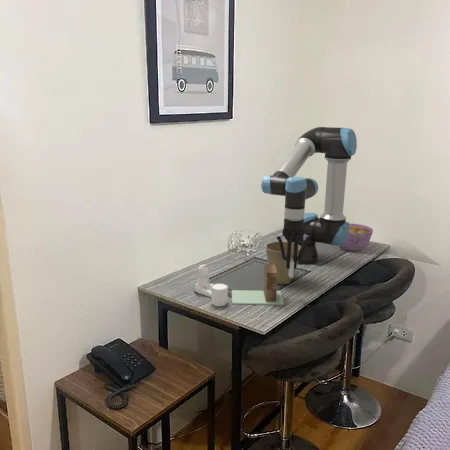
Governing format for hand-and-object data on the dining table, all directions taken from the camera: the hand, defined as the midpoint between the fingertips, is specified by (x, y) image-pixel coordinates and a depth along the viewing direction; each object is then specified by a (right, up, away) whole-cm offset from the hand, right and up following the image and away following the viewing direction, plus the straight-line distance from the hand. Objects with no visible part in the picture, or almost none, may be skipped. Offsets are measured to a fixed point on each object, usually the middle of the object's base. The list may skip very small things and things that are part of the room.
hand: (290, 276), depth 179 cm
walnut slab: (-8, -8, +2) cm, 12 cm away
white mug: (-28, -10, -2) cm, 30 cm away
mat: (-13, -9, +2) cm, 16 cm away
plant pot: (-1, -5, +20) cm, 20 cm away
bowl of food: (+42, +7, +64) cm, 77 cm away
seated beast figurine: (-34, -8, +7) cm, 36 cm away
